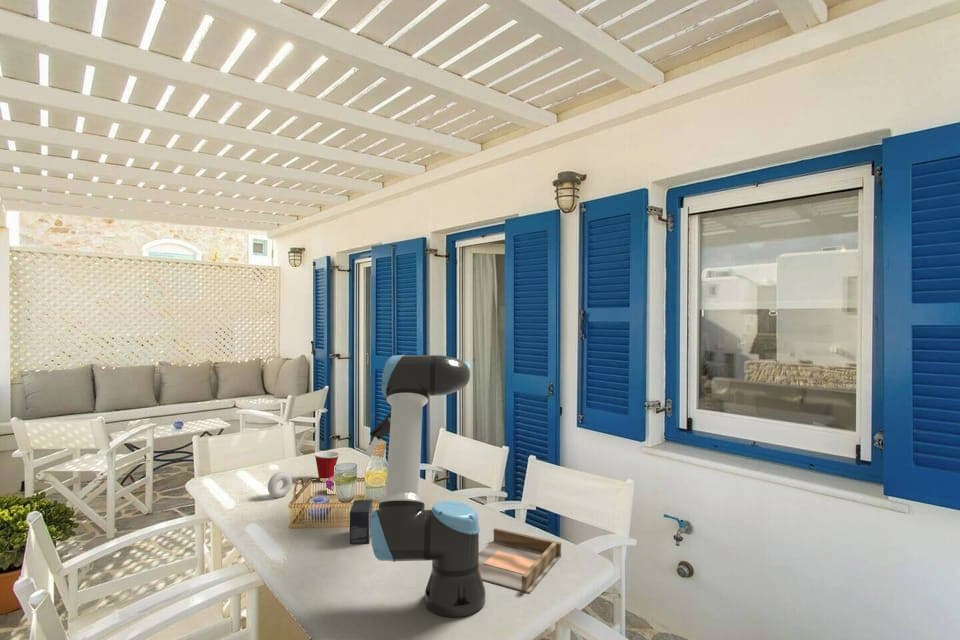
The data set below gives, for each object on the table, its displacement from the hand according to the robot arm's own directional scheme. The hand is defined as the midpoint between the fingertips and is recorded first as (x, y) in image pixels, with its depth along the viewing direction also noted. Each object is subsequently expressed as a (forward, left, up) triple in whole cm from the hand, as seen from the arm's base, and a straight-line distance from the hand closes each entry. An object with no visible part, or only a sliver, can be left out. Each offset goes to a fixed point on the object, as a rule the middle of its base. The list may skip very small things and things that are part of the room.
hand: (383, 457), depth 171 cm
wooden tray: (-4, -50, -23) cm, 55 cm away
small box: (-11, 0, -24) cm, 26 cm away
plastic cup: (+27, +54, -23) cm, 65 cm away
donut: (+2, +54, -23) cm, 59 cm away
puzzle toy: (+17, +39, -24) cm, 49 cm away
